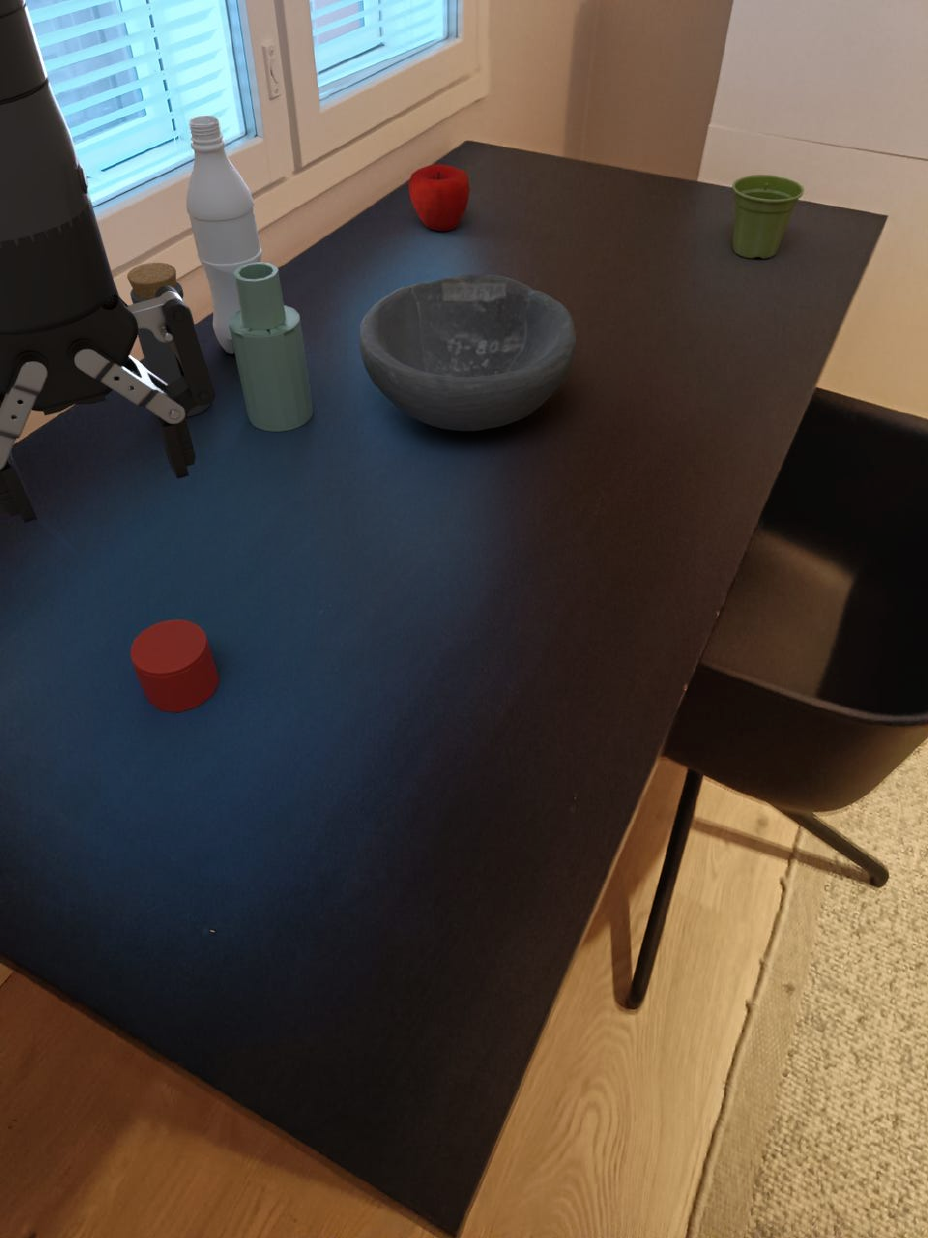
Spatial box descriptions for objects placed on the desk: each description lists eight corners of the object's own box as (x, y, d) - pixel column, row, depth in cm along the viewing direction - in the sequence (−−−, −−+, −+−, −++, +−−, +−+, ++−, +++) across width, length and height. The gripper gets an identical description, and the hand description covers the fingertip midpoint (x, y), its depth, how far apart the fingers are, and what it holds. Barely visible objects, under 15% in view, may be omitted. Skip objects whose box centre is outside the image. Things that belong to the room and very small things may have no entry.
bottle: (186, 423, 97) (151, 290, 86) (147, 408, 99) (108, 276, 88) (223, 398, 100) (193, 267, 90) (185, 384, 103) (151, 254, 92)
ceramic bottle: (235, 417, 98) (204, 274, 86) (281, 390, 102) (257, 249, 90) (280, 439, 95) (253, 294, 83) (326, 410, 99) (307, 268, 87)
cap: (131, 688, 71) (115, 650, 67) (186, 647, 74) (173, 608, 71) (177, 723, 68) (162, 685, 65) (232, 679, 71) (221, 640, 68)
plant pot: (706, 250, 127) (718, 186, 121) (745, 231, 131) (759, 168, 125) (762, 271, 122) (777, 205, 116) (801, 251, 126) (818, 187, 120)
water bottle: (207, 355, 107) (153, 127, 89) (236, 328, 112) (191, 106, 94) (261, 365, 105) (217, 134, 88) (288, 336, 110) (252, 112, 92)
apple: (406, 216, 136) (403, 161, 130) (463, 212, 137) (463, 157, 131) (415, 240, 130) (412, 184, 124) (474, 235, 131) (474, 179, 125)
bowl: (322, 403, 99) (310, 319, 92) (464, 332, 111) (464, 252, 103) (469, 492, 88) (469, 403, 81) (612, 403, 99) (623, 318, 92)
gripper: (140, 149, 45) (208, 426, 56) (-179, 201, 40) (-33, 491, 52) (179, 200, 40) (245, 491, 51) (-177, 265, 35) (-17, 569, 47)
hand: (105, 491), depth 52 cm, fingers open, 8 cm apart
